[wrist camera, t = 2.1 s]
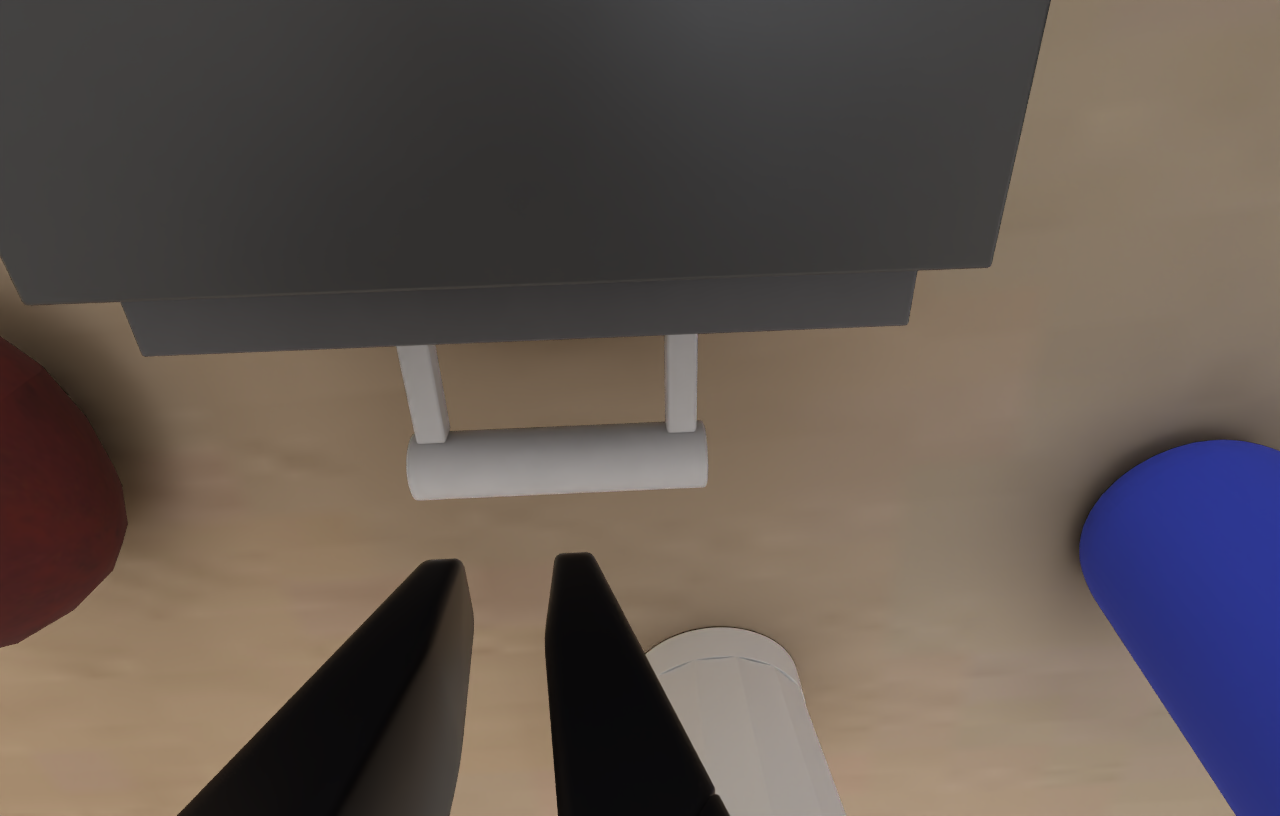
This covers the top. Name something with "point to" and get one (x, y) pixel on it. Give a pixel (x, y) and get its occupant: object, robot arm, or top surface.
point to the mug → (1201, 601)
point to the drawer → (533, 314)
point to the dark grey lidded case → (499, 141)
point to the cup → (747, 721)
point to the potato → (50, 501)
